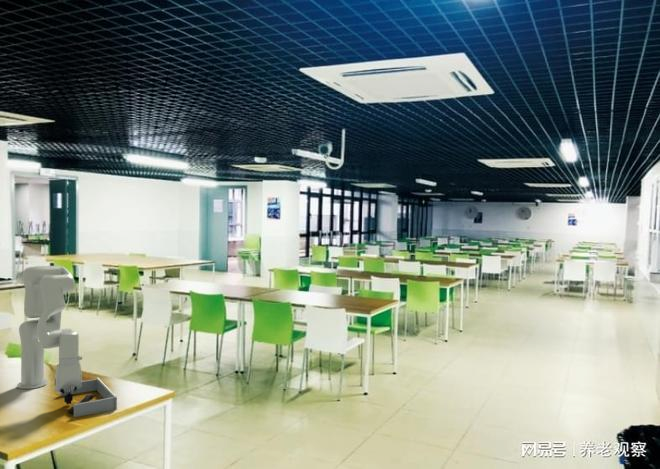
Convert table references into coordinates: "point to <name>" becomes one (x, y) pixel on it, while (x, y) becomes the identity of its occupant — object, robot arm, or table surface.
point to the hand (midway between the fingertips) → (68, 403)
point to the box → (97, 405)
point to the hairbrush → (82, 401)
